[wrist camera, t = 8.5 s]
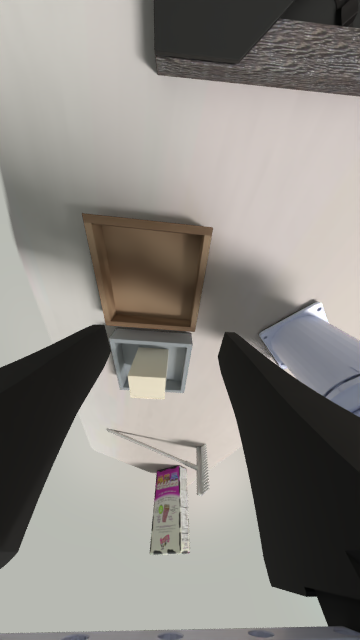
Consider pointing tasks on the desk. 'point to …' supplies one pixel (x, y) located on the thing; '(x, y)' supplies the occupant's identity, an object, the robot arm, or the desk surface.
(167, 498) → the candy bar box
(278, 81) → the picture frame
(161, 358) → the sandstone block
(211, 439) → the desk surface
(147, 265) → the walnut tray
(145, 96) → the desk surface
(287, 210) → the desk surface
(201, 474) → the brush
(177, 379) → the grey tray
